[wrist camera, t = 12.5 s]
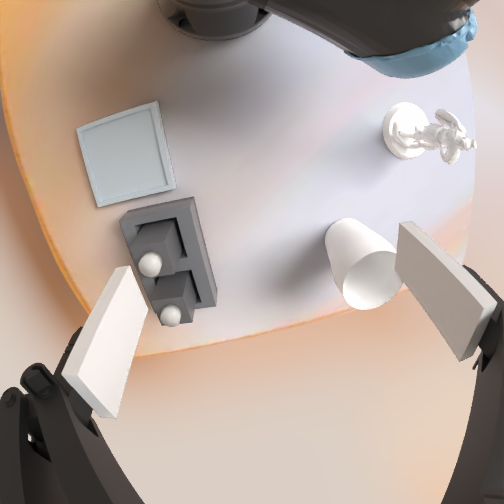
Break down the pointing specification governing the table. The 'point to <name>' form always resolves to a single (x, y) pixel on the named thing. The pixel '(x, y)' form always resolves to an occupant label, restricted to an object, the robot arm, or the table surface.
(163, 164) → the tray
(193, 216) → the gray block holder
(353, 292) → the cup
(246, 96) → the table surface
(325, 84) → the table surface
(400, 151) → the figurine
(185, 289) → the plug
